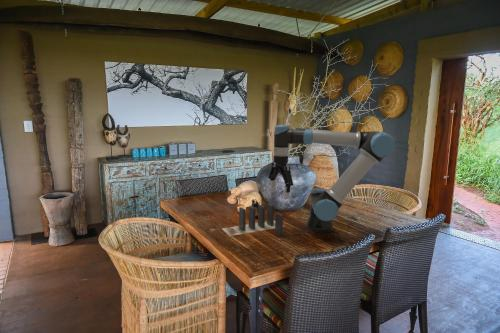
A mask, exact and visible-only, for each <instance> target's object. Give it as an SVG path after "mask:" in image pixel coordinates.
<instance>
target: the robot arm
mask: <svg viewBox="0 0 500 333" xmlns="http://www.w3.org/2000/svg"><path fill="white" fill-rule="evenodd" d="M273 132H274V133H273V162H272V163H271V168H270V171H269V174H268V179H269V180H270V193H272V194H273V193H276V188H277V187H276V186H277V184H276V182H277V181H276V178H277V177H278V175H279V174H280V175H281V176H282V177H281V178H282V179H283V181H284V195H283V196H284V198H283V199H290V198H291V197H290V195H291V187H292V186H294V182H293V176H292V173H291V166H290V165H288V166H287V164H288V162H289V156H288V155H289V152H290V151H289V149H290V148H289V147H290V146H289V145H312V144H318V145H319V144H321V145H330V146H341V147H352V148H354V149H356V150H360V153H359V154H358V156H356V158H355V159H354V160H352V162H351V164H350V165H348V167H347V168H346V169H345V171H344V172H343V173H342V174H341V175H340V177H339V178H337V180H336V181H335V182H334V183H333V184H332V186H331V187H330V188H313V189H311V190H310V193H309V194H310V204H309V205H310V206H309V215H308V217H307V218H308V219H307V221H306V223H305V224H306V225H305V226H306V228H307V229H309V230H311V231H313V232H314V233H319V234H320V233H322V234H325V233H332V232H333V231H334V224H333V220H334V219H335V218H336V217H337V216H338V213H339V210H340V208H341V207H342V206H343V205H344V199H345V198H346V197H347V196H348V195H349V194H350V193H351V192H352V190H353V189H354V188H355V186H356V185H358V183H359V182H360V181H361V180H362V179H363V177H364V176H365V175H366V174H367V173H368V172H369V171H370V169H372V167H373V166H374V165H376V164H380V163H381V162H382V161H383V160H384V158H387V157H389V156H391V155H392V154H393V152H394V151H395V149H396V141H395V139H394V137H393V136H392V135H391V134H388V132H382V131H378V130H377V131H359V130H358V131H357V132H349V131H347V132H346V131H339V130H338V131H336V130H324V129H314V128H313V129H312V128H304V127H303V128H302V127H297V128H294V129H293V128H292V129H291V127H290V125H286V124H277V125H275V126H274V131H273Z"/></svg>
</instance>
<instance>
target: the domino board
mask: <svg viewBox="0 0 500 333" xmlns="http://www.w3.org/2000/svg"><path fill="white" fill-rule="evenodd" d="M284 227H285V225H283V228H284ZM273 229H275V220H274V226H270V225H268V224H267V220H266V221H265V227H264V228H262V227H260V226H259V225H258V222H255V229H251V228H250V227H249V223H246V231H242V230H241V229H239V225H235V226H230V227H224V228H223V227H222V228H221V230H223V232H224V233H225V234H226V235H228V236H229V237H234V236H239V235H245V234H250V233H255V232H261V231H265V230H266V231H268V230H273Z"/></svg>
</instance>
